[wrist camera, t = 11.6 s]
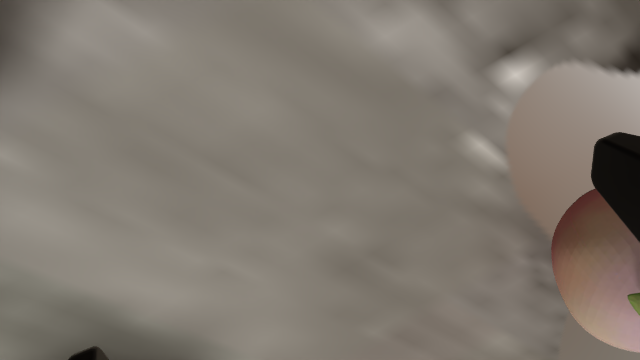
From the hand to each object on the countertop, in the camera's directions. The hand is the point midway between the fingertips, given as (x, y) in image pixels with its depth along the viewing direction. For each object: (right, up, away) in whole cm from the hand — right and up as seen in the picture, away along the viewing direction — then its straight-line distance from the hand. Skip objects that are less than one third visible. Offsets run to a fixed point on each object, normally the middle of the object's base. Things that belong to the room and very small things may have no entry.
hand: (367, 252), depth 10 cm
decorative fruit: (+13, 0, +23) cm, 27 cm away
